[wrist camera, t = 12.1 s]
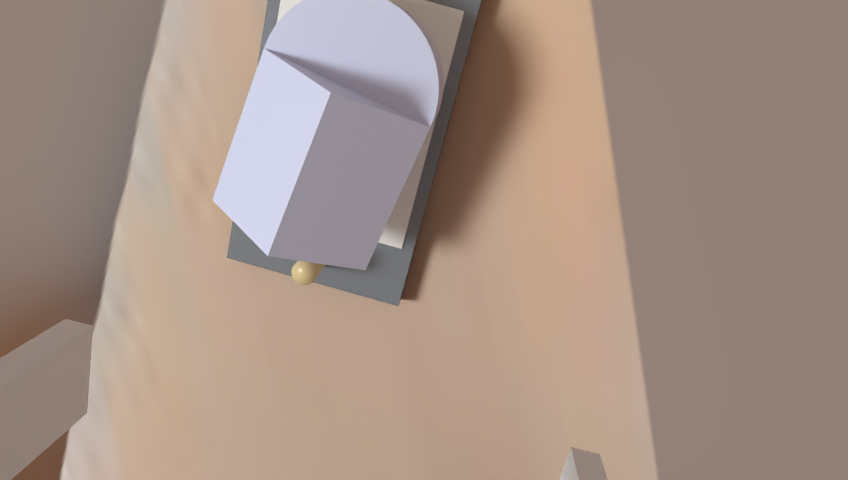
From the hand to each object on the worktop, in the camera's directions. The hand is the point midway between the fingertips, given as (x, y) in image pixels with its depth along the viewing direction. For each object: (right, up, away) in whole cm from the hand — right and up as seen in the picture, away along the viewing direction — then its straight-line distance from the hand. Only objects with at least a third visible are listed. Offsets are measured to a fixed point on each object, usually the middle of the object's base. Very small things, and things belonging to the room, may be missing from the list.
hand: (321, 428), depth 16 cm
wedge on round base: (-1, +12, +17) cm, 21 cm away
